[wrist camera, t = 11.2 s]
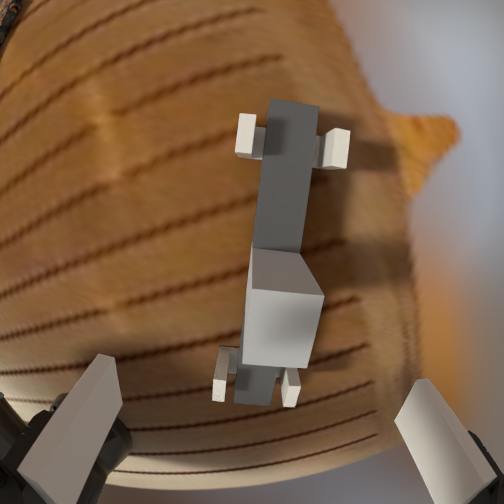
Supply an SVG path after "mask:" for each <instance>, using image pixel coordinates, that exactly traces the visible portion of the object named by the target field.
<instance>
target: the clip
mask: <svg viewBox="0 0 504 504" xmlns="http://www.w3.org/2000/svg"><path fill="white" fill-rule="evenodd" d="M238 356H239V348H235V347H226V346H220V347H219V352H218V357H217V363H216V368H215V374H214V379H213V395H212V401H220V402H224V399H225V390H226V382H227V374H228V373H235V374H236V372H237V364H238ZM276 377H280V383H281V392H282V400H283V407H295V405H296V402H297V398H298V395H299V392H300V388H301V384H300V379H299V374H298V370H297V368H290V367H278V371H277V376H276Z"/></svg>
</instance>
